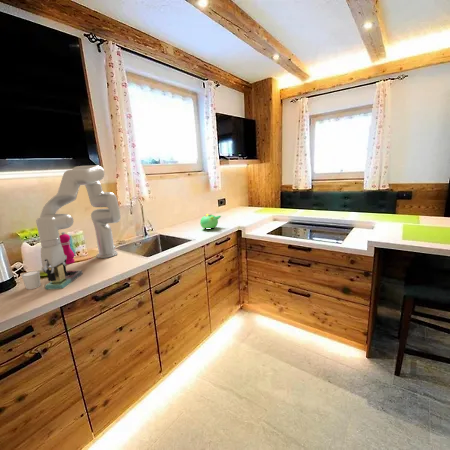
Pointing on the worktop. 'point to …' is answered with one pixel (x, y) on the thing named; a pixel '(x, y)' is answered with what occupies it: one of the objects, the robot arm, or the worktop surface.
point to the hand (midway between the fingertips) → (58, 276)
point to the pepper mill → (67, 248)
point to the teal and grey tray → (67, 281)
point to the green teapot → (209, 221)
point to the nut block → (59, 274)
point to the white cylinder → (31, 279)
